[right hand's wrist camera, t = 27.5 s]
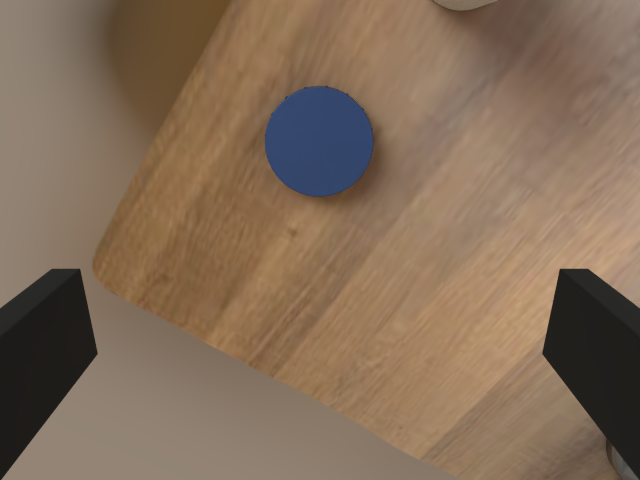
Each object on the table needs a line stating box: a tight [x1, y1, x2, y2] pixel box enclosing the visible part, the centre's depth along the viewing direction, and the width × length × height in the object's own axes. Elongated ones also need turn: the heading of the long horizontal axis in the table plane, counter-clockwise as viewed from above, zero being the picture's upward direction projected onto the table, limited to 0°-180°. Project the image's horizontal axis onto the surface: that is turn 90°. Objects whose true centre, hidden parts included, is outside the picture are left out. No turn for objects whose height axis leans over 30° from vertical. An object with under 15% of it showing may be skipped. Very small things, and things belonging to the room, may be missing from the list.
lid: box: [265, 86, 373, 196], centre depth 39 cm, size 9×9×2 cm
